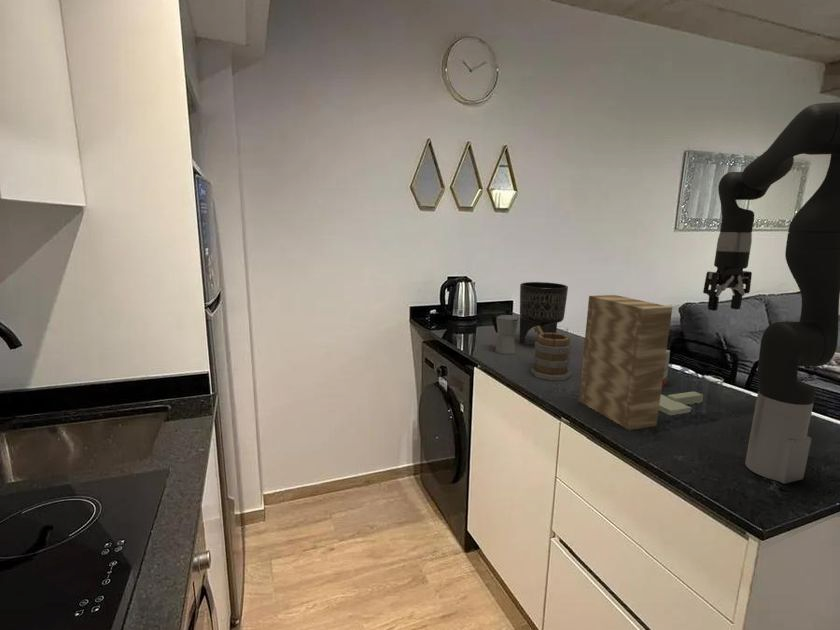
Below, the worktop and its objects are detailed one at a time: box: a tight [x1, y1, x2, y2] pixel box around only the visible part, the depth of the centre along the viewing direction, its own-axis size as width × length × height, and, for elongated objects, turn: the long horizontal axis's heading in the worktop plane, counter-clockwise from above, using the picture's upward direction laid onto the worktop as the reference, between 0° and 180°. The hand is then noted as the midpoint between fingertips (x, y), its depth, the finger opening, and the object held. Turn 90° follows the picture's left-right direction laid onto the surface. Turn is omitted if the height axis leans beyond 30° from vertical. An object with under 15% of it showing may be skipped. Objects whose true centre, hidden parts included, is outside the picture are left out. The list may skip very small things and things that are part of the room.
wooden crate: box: [578, 294, 673, 431], centre depth 124 cm, size 20×9×32 cm, turn 19°
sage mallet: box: [659, 391, 704, 416], centre depth 135 cm, size 12×17×2 cm
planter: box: [519, 281, 569, 344], centre depth 194 cm, size 20×20×26 cm
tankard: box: [530, 326, 572, 382], centre depth 161 cm, size 20×13×15 cm, turn 9°
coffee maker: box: [491, 308, 520, 356], centre depth 185 cm, size 15×9×18 cm, turn 34°
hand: (723, 309), depth 124 cm, fingers open, 8 cm apart
